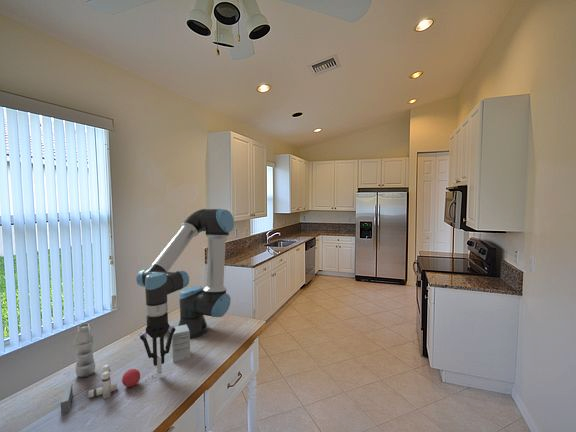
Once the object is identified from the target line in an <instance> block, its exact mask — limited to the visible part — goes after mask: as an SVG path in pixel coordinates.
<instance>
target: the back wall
mask: <svg viewBox="0 0 576 432" xmlns="http://www.w3.org/2000/svg"><path fill="white" fill-rule="evenodd" d="M73 395H74V392H73V384H72V383H70V384H67V385H64V389H63V393H62V396H61V400H60V414H61V415H64V414H67V413H70V408H71V404H72V400H73Z"/></svg>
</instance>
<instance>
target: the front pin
mask: <svg viewBox="0 0 576 432" xmlns="http://www.w3.org/2000/svg"><path fill="white" fill-rule="evenodd" d="M117 387H118V383H117V382H114V383H111V384H110V390H111V393H112V392H115V391H117V390H118V388H117ZM101 395H102V396H103V393H102V386H101V387H96V388H94V389H90V390H88V399H91V398H95V397H98V396H101Z"/></svg>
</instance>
